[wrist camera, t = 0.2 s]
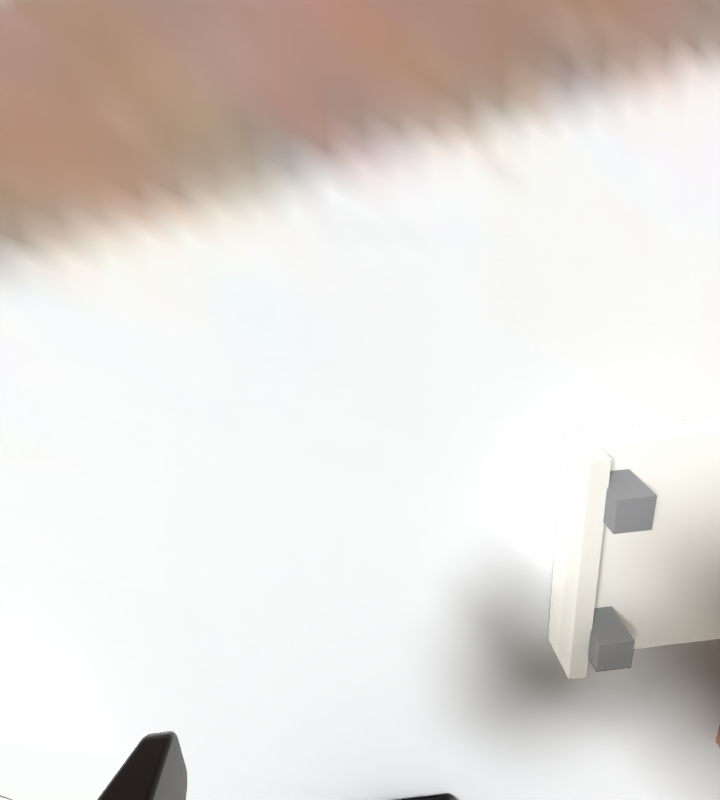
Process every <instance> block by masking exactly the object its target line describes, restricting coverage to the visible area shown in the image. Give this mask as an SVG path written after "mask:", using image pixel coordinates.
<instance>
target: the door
mask: <svg viewBox="0 0 720 800" xmlns="http://www.w3.org/2000/svg"><path fill="white" fill-rule="evenodd" d="M716 742H717V744H718V745H719V747H720V726H719V730H718V734H717V738H716Z"/></svg>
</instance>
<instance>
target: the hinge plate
mask: <svg viewBox="0 0 720 800" xmlns="http://www.w3.org/2000/svg"><path fill="white" fill-rule="evenodd" d="M548 639H549V641H550V643H551V645H552V647H553V649H554V651H555V653H556V655H557V657H558V659H559V661H560V663H561V665H562V667H563V669H564V671H565V673H566V675H567V677H568V679H569V680H572V679H580V678H586V677H587V669H588V660H590V662H591V663H592V665H593V667H594V669H595V671H596V672H599V671H607V670H615V669H623V668H631V663H632V656H633V650H634V649H640V648H649V647H657V646H665V645H674V644H682V643H691V642H699V641H707V640H716V639H720V418H712V419H702V420H692V421H682V422H672V423H662V424H651V425H641V426H631V427H621V428H611V429H601V430H591V431H581V432H571V433H564V437H563V450H562V463H561V476H560V489H559V502H558V515H557V528H556V541H555V554H554V567H553V580H552V593H551V606H550V619H549V632H548Z"/></svg>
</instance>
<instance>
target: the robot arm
mask: <svg viewBox="0 0 720 800" xmlns="http://www.w3.org/2000/svg"><path fill="white" fill-rule="evenodd" d="M186 792H187V770H186V766H185V762H184V759H183V755H182V751H181V748H180V744H179V741H178V737H177V735H176V734H175V733H174V732H171V731H169V732H161V733H153V734H149V735H147V736H145V737H144V738H143V739H142V740H141V741H140V742H139V744H138V745H137V747H136V748H135V749H134V751H133V752H132V753H131V755H130V756H129V757H128V759H127V760H126V762H125V763H124V764H123V766H122V767H121V768H120V770H119V771H118V772H117V774H116V775H115V776H114V778H113V779H112V781H111V782H110V783H109V785H108V786H107V787H106V789H105V790H104V791H103V793H102V794H101V796H100V797H99V798H98V800H186ZM417 800H452V798H451V797H449V796H440V797H433V798H425V799H417Z"/></svg>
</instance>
